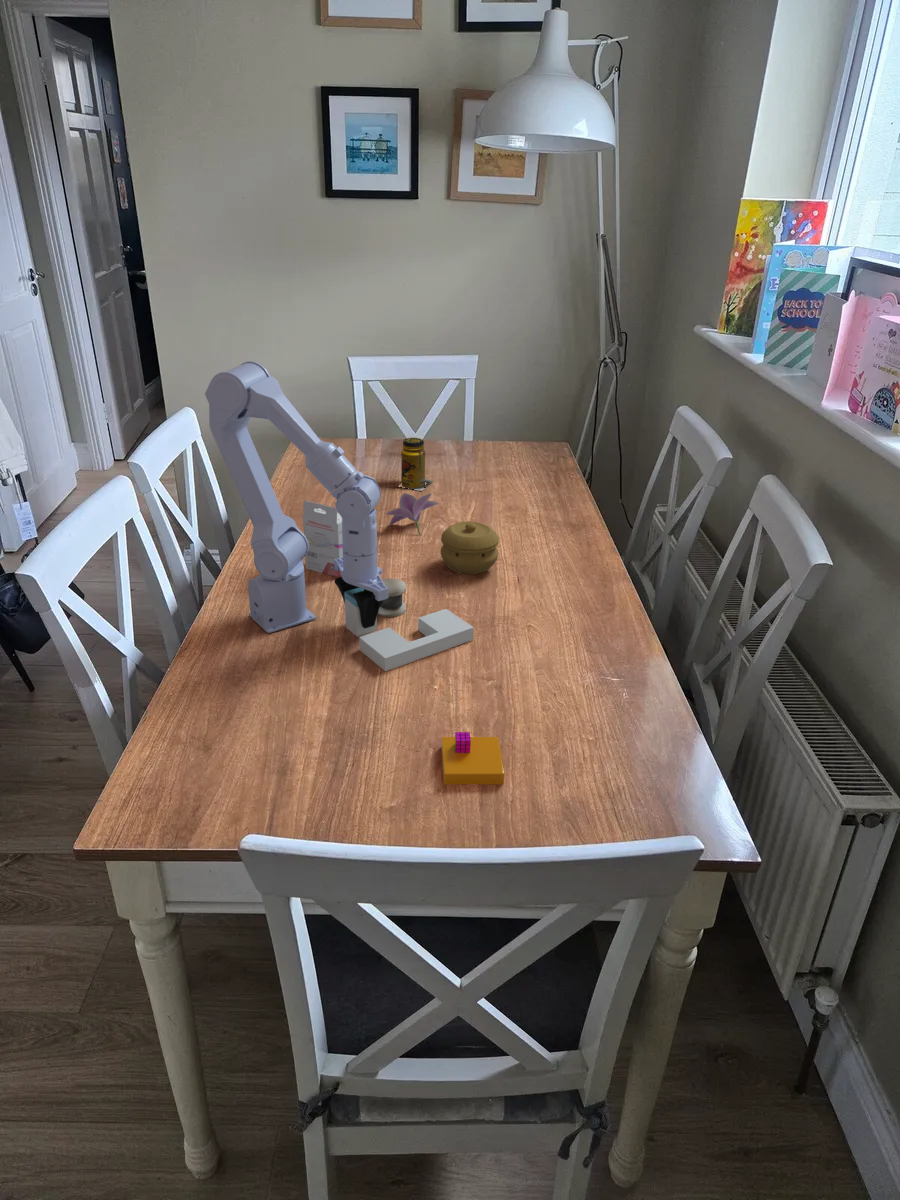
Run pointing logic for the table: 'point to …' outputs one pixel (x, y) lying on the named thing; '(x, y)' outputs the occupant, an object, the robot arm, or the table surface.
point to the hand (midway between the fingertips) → (361, 620)
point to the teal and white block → (355, 614)
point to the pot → (469, 547)
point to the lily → (410, 508)
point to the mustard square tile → (471, 760)
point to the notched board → (397, 651)
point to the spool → (393, 598)
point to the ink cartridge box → (322, 537)
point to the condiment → (413, 464)
